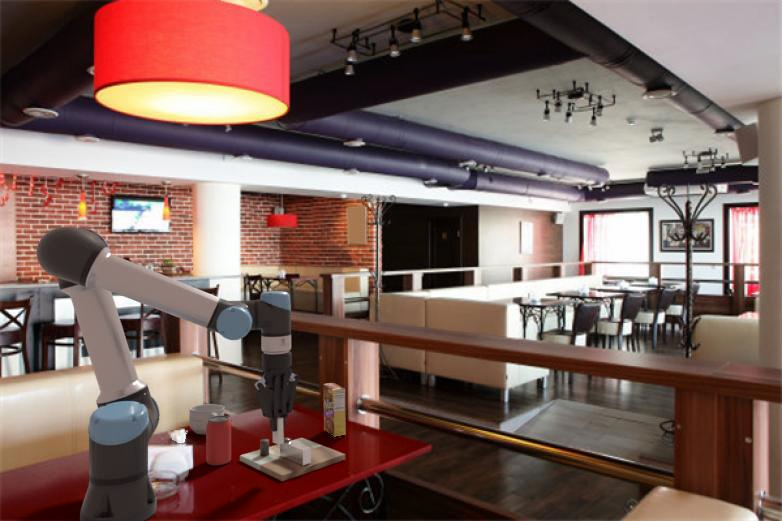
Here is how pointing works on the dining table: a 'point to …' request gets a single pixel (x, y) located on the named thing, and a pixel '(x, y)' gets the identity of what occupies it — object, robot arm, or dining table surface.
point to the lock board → (285, 468)
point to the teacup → (203, 416)
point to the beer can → (218, 440)
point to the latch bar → (295, 452)
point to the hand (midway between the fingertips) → (278, 442)
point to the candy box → (334, 409)
